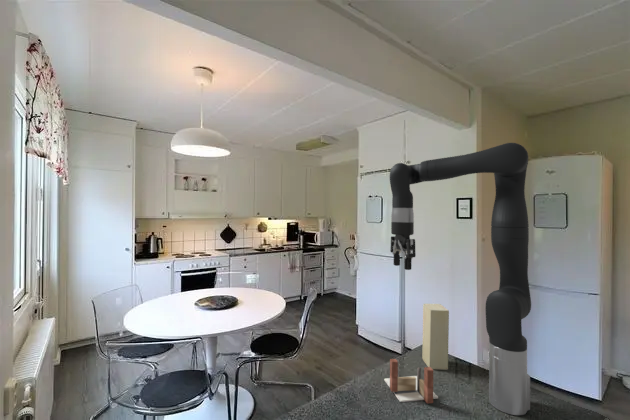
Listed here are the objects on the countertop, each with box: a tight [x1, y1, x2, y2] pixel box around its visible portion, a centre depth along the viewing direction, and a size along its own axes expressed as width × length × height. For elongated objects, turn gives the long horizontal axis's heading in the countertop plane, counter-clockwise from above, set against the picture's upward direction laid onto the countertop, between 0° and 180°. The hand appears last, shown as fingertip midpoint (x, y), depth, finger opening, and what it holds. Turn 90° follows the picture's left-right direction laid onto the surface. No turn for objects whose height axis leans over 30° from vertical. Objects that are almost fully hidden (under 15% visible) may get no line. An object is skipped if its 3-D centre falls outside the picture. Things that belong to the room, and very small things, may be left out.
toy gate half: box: [389, 358, 416, 393], centre depth 92 cm, size 8×2×9 cm, turn 95°
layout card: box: [383, 375, 439, 403], centre depth 94 cm, size 12×12×1 cm
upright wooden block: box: [421, 303, 450, 371], centre depth 110 cm, size 8×7×21 cm
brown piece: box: [416, 366, 434, 405], centre depth 90 cm, size 2×7×10 cm, turn 10°
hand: (402, 267), depth 105 cm, fingers open, 8 cm apart
